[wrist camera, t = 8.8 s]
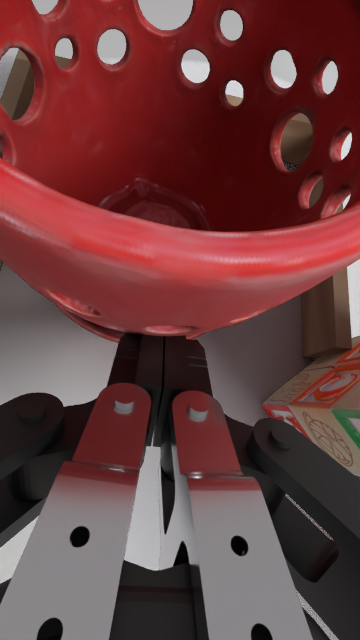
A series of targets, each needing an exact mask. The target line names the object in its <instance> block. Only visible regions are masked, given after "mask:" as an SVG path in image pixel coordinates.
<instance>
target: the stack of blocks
mask: <svg viewBox="0 0 360 640" xmlns="http://www.w3.org/2000/svg"><path fill="white" fill-rule="evenodd" d="M351 341H352V349H351V350H347V351H343V352H339V353H335V354H331V355H327V356H323V357H319V358H317V359H316V360H315V361H313V362H312V363H311V364H310V365H308V366H307V367H306V368H305V369H303V370H302V371H301V372H300V373H298V374H297V375H295V376H294V377H293V378H291V379H290V380H289V381H288V382H286V383H285V384H284V385H283V386H281V387H280V388H279V389H278V390H277V391H275V392H274V393H273V394H272V395H271V396H270V397H269V398H268V399H266V400H265V401H264V402H263V403H262V407H263V408H264V410H265V411H266V412H267V414H268V415H269V416H270V418H275V419H279V420H282V421H284V422H286V423H288V424H290V425H291V426H293V427H294V428H295V429H297V430H298V431H299V432H301V433H302V434H303V435H304V436H306V437H307V438H308V439H309V440H311V441H312V442H313V443H314V444H316V445H317V446H318V447H320V448H321V449H322V450H323V451H325V452H326V453H327V454H328V455H330V456H331V457H332V458H333V459H335V460H336V461H337V462H339V463H340V464H341V465H342V466H344V467H345V468H346V469H347V470H349V471H350V472H351V473H352V474H354V475H355V476H356V477H358V478H359V479H360V336H357V337H354V338H351Z"/></svg>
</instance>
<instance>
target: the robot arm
mask: <svg viewBox="0 0 360 640" xmlns="http://www.w3.org/2000/svg"><path fill="white" fill-rule="evenodd" d="M153 431H154V435H153ZM152 436H153V446H155V447H161V458H160V463H159V467H158V489H159V513H160V537H161V545H160V558H159V570H158V571H153V570H149V569H146V568H144V567H141V566H138V565H136V564H133V563H130V562H128V561H125V560H124V556H125V550H126V545H127V539H128V533H129V528H130V522H131V517H132V511H133V505H134V500H135V494H136V489H137V483H138V477H139V472H140V468H141V466H142V464H143V462H144V456H145V451H146V446H151V442H152ZM286 493H287V494H288V495H289V496H290V497H291V498H292V499H293V500H294V501H295V502H296V503H297V504H298V505H299V506H300V507H301V508H302V509H303V510H304V511H305V512H306V513H307V514H308V515H310V516H311V517H312V518H313V519H314V520H315V521H316V522H317V523H318V524H319V525H320V526H321V527H322V528H323V529H324V530H325V531H326V532H327V533H328V534H329V535H330V536H331V537H332V539H333V540H334V541H333V540H331V539H329V538H328V537H327V536H326V535H324V534H323V533H322V532H321V531H320V530H319V529H318V528H317V527H316V526H315V525H314V524H313V523H312V522H311V521H310V520H309V519H308V518H307V517H306V516H305V515H304V514H303V513H302V512H301V511H300V510H299V509H298V508H297V507H296V506H295V505H294V504H293V503H292V502H291V501H290V500H289V499H288V498H287V497H285V495H286ZM37 516H39V517H38V520H37V522H36V524H35V527H34V529H33V531H32V533H31V536H30V538H29V540H28V543H27V545H26V547H25V549H24V552H23V554H22V556H21V558H20V561H19V563H18V565H17V568H16V570H15V572H14V574H13V577H12V578H11V579H9V580H7V581H5V582H3V583H1V584H0V640H330V639H329V638H328V636H327V635H326V634H325V633H324V631H323V630H322V629H321V628H320V626H319V625H318V624H317V623H316V622H315V620H314V619H313V618H312V617H311V616H310V615H309V614H308V613H307V612H306V611H305V610H304V609H303V608H302V607H301V604H300V601H299V598H298V595H297V592H296V590H297V591H298V592H299V593H300V594H301V596H302V597H303V598H304V599H305V600H306V601H307V603H308V604H309V605H310V606H311V607H312V608H313V610H314V611H315V612H316V613H317V614H318V615H319V617H320V618H321V619H322V620H323V621H324V622H325V624H326V625H327V626H328V627H329V628H330V630H331V631H332V632H333V633H334V634H335V635H336V637H337V638H338V639H339V640H360V479H359V478H358V477H356V476H355V475H354V474H352V473H351V472H350V471H349V470H347V469H346V468H345V467H344V466H342V465H341V464H340V463H339V462H337V461H336V460H335V459H333V458H332V457H331V456H330V455H328V454H327V453H326V452H325V451H323V450H322V449H321V448H320V447H318V446H317V445H316V444H314V443H313V442H312V441H311V440H309V439H308V438H307V437H306V436H304V435H303V434H302V433H301V432H299V431H298V430H297V429H295V428H294V427H293V426H291V425H290V424H288V423H286V422H284V421H282V420H279V419H275V418H264V419H261V420H259V421H258V422H257V423H256V424H255V425H254V427H252V426H249V425H246V424H244V423H241V422H238V421H236V420H234V419H232V418H230V417H228V416H227V415H225V414H224V413H223V409H222V407H221V405H220V404H219V402H218V401H217V400H216V399H215V398H213V395H212V390H211V384H210V379H209V373H208V368H207V362H206V356H205V351H204V348H203V347H202V346H201V344H200V343H199V342H198V341H197V340H192V339H186V335H182V336H165V337H164V336H153V335H145V334H142V335H137V334H131V333H125V334H124V335H123V336H122V337H121V338H120V340H119V344H118V348H117V351H116V355H115V359H114V362H113V366H112V370H111V373H110V377H109V381H108V384H107V387H106V388H105V389H103V390H102V391H101V393H100V394H99V396H98V398H96V399H95V400H93V401H90V402H88V403H85V404H80V405H73V406H66V407H63V404H62V402H61V401H60V400H59V399H58V398H57V397H55V396H53V395H51V394H47V393H29V394H25V395H21V396H19V397H16V398H14V399H12V400H10V401H8V402H6V403H4V404H2V405H0V547H2V546H3V545H4V544H5V543H6V542H8V541H9V540H10V539H11V538H12V537H14V536H15V535H16V534H17V533H18V532H20V531H21V530H22V529H23V528H24V527H25V526H27V525H28V524H29V523H30V522H31V521H33V520H34V519H35V518H36V517H37ZM295 588H296V589H295Z"/></svg>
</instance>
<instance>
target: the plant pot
mask: <svg viewBox="0 0 360 640" xmlns="http://www.w3.org/2000/svg"><path fill="white" fill-rule="evenodd" d="M227 10H234V11H235V12H237V13H238V14H239V15H240V17H241V19H242V22H243V31H242V34H241V36H240V38H238V39H237V40H235V41H231V40H228V39H226V38H225V37H224V36H223V34H222V32H221V29H220V20H221V16H222V14H223V12H224V11H227ZM109 29H117V30H119V31H121V32H122V33H123V34H124V36H125V38H126V51H125V55H124V56H123V58H122V59H121V60H120V61H119V62H118V63H116V64H113V65H111V64H105V63H104V62H103V61H101V60H100V58H99V56H98V53H97V45H98V42H99V38H100V36H101V35H102V34H103V33H104V32H106V31H107V30H109ZM62 38H68V39H70V41H71V43H72V47H73V56H72V59H71V61H70V62H69V63H68V64H67V65H66V66H65V67H60V66H59V65H58V64H57V61H56V58H55V47H56V44H57V42H58V41H59V40H60V39H62ZM9 48H19V49H20V50H21V51H22V52H23V53H24V54H25V55H26V57H27V58H28V60H29V62H30V65H31V68H32V71H33V75H34V94H33V97H32V100H31V103H30V106H29V107H28V109H27V111H26V113H25V114H24V115H23V116H22V117H21V118H20V119H18V120H12V119H11V118H10V117H9V115H8V114H7V112H6V110H5V109H4V107H3V106H2V105H1V103H0V145H1V148H2V153H3V159H2V158H1V157H0V259H1V260H2V261H3V262H4V263H5V264H6V265H8V266H9V267H10V268H11V269H12V270H13V271H14V272H15V273H17V274H18V275H19V276H20V277H21V278H22V279H23V280H24V281H25V282H27V283H28V284H29V285H30V286H31V287H32V288H34V289H35V290H36V291H38V292H39V293H40V294H42V295H43V296H45V297H46V298H48V299H49V300H51V301H53V302H54V303H55V305H56V306H57V307H58V308H59V309H60V310H61V311H62V312H63V313H64V314H65V315H67V316H68V317H69V318H70V319H71V320H73V321H74V322H75V323H77V324H78V325H80V326H81V327H83V328H85V329H86V330H88V331H90V332H92V333H94V334H96V335H98V336H100V337H102V338H105V339H107V340H110V341H113V342H117V343H119V340H120V338H121V337H122V336H123V335H124V334H125V333H131V334H137V335H142V334H145V335H153V336H164V337H165V336H182V335H186V339H194V338H196V337H198V336H201V335H202V334H204V333H206V332H208V331H211V330H215V329H218V328H222V327H226V326H230V325H234V324H237V323H240V322H242V321H245V320H247V319H250V318H252V317H254V316H257V315H259V314H261V313H263V312H265V311H267V310H270V309H272V308H274V307H276V306H278V305H280V304H283V303H285V302H286V301H288V300H290V299H292V298H294V297H296V296H297V295H299V294H301V293H303V292H305V291H307V290H309V289H311V288H312V287H314V286H316V285H317V284H319V283H321V282H322V281H324V280H326V279H327V278H329V277H331V276H332V275H334V274H336V273H337V272H339V271H341V270H342V269H344V268H346V267H347V266H349V265H351V264H352V263H354V262H355V261H357V260H359V259H360V0H193V6H192V11H191V14H190V16H189V18H188V20H187V21H186V22H185V23H184V24H183V25H182V26H181V27H179V28H177V29H174V30H160V29H158V28H156V27H154V26H153V25H152V24H150V23H149V22H148V21H147V20H146V18H145V17H144V16H143V14H142V12H141V10H140V7H139V4H138V0H58V3H57V5H56V6H55V7H54V8H53V10H52V11H50V13H48V14H45V15H42V14H39V13H38V11H37V10H36V9H35V7H34V4H33V2H32V0H0V60H1V57H2V56H3V55H4V54H5V53H6V52H7V51H8V49H9ZM190 49H196V50H198V51H200V52H202V53H203V54H204V55H205V56H206V58H207V59H208V62H209V64H210V72H209V75H208V78H207V79H206V80H205V81H203V82H201V83H193V82H191V81H190V80H188V79H187V78H186V77H185V75H184V73H183V71H182V68H181V62H182V58H183V55H184V53H185V52H186V51H188V50H190ZM279 50H286V51H288V52H289V53H290V54H291V56H292V59H293V62H294V64H295V67H296V72H297V76H296V79H295V81H294V83H293V85H292V86H291V87H289V88H285V89H284V88H281V87H279V86H278V85H277V84H276V83H275V82H274V80H273V77H272V75H271V69H270V68H271V62H272V59H273V56H274V54H275V53H276V52H277V51H279ZM330 61H333V62H334V63H335V64H336V66H337V70H338V80H337V83H336V86H335V88H334V90H333V91H332V92H331V93H330V94H328V95H327V94H326V93H325V92H324V91H323V87H322V76H323V71H324V69H325V68H326V66H327V65H328V64H329V63H330ZM231 80H236V81H237V82H239V83H240V84H241V85H242V87H243V100H242V102H241V103H240V104H239V105H238V106H233V105H231V104H230V103H229V102H228V100H227V98H226V94H225V90H226V86H227V84H228V82H229V81H231ZM300 113H302V114H304V115H305V116H306V117H307V118H308V119H309V121H310V123H311V125H312V130H313V138H312V142H311V147H310V151H309V153H308V155H307V157H306V159H305V160H304V161H303V163H302V164H301V165H300V166H299V167H298V168H296V169H294V170H292V171H289V170H287V169H286V167H285V166H284V164H283V162H282V159H281V153H280V143H281V138H282V134H283V131H284V129H285V127H286V125H287V124H288V122H289V121H290V120H291V119H292V118H293V117H294V116H295V115H297V114H300ZM350 132H351V133H352V143H351V148H350V151H349V153H348V154H347V156H346V157H345V158H344V159H343V160H341V148H342V145H343V143H344V141H345V139H346V137H347V136H348V135H349V133H350ZM322 177H323V191H322V194H321V196H320V198H319V199H318V201H317V202H316V203H315V204H314V205H313V206H312V207H310V208H309V197H310V194H311V191H312V189H313V187H314V185H315V184H316V183H317V181H318V180H320V179H321V178H322ZM350 194H351V196H350V199H349V202H348V203H347V205H346V207H345V208H344V210H343V211H342V212H339V213H337V214H335V213H336V211H337V210H338V208H339V206H340V205H341V204H342V203H343V202H344V200H345V199H346V197H348V196H349V195H350Z"/></svg>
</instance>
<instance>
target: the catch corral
mask: <svg viewBox="0 0 360 640" xmlns="http://www.w3.org/2000/svg"><path fill="white" fill-rule="evenodd" d="M55 58H56V61H57V64H58V65H59V66H60V67H65V66H66V65H67V64H68V63H69V62H70V61H71V59H67V58H63V57H58V56H55ZM33 94H34V75H33V71H32V68H31V65H30V62H29V60H28V58H27V57H26V55H25V54H24V53H23V52H22V51H21V50H20V49H19V50H18V53H17V56H16V59H15V61H14V64H13V67H12V70H11V73H10V75H9V78H8V81H7V84H6V86H5V89H4V92H3V95H2V98H1V100H0V103H1V105H2V106H3V107H4V109H5V110H6V112H7V114H8V115H9V117H10V118H11V119H12V120H18V119H20V118H21V117H22V116H23V115H24V114H25V113H26V111H27V109H28V107H29V106H30V103H31V100H32V97H33ZM226 98H227V100H228V102H229V103H230V104H231V105H233V106H238V105H239V104H240V103H241V102H242V100H243V98H240V97H235V96H231V95H226ZM312 138H313V130H312V125H311V123H310V121H309V119H308V118H307V117H306V116H305V115H304V114H302V113H300V114H297V115H295V116H294V117H293V118H292V119H291V120H290V121H289V122H288V124H287V125H286V127H285V129H284V131H283V134H282V138H281V143H280V153H281V159H282V161H283V162H287V163H292V164H297V165H299V166H300V165H301V164H302V163H303V161H304V160H305V159H306V157H307V155H308V153H309V151H310V147H311V142H312ZM0 157H1V158H2V159H3V153H2V148H1V145H0ZM322 191H323V177H322V178H321V179H320V180H318V181H317V183H316V184H315V185H314V187H313V189H312V191H311V194H310V197H309V208H310V207H312V206H313V205H314V204H315V203H316V202H317V201H318V199H319V198H320V196H321V194H322ZM342 211H343V203H342V204H341V205H340V206H339V208H338V210H337V211H336V213H335V214H337V213H339V212H342ZM2 263H3V261H2V260H1V259H0V270H1V267H2ZM351 349H352V341H351V325H350V310H349V294H348V279H347V267H346V268H344V269H342V270H341V271H339V272H337V273H336V274H334V275H332V276H331V277H329V278H327V279H326V280H324V281H322V282H321V283H319V284H317V285H316V286H314V287H312V288H311V289H309V290H307V291H305V292H303V293H302V351H303V357H309V358H319V357H323V356H327V355H331V354H335V353H339V352H343V351H347V350H351Z"/></svg>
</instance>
